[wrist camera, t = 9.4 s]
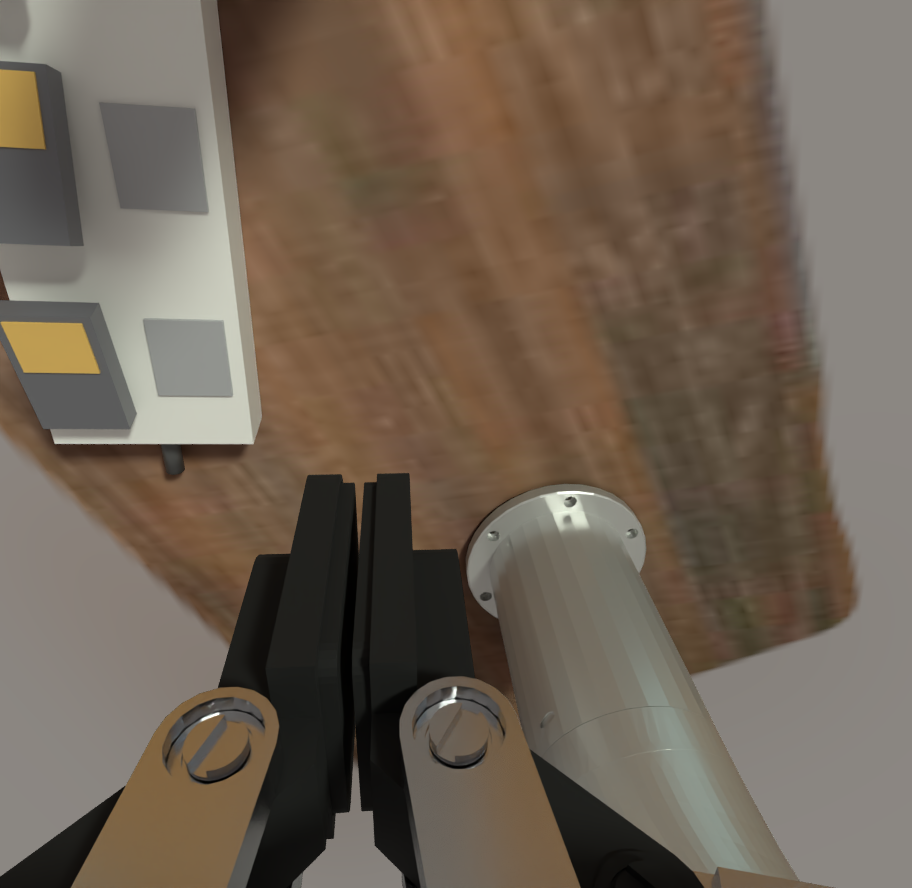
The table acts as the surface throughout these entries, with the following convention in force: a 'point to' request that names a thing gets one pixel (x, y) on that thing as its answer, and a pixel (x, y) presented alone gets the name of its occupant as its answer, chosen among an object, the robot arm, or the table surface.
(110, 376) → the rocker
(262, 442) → the table surface
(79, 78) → the power strip
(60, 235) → the middle rocker
